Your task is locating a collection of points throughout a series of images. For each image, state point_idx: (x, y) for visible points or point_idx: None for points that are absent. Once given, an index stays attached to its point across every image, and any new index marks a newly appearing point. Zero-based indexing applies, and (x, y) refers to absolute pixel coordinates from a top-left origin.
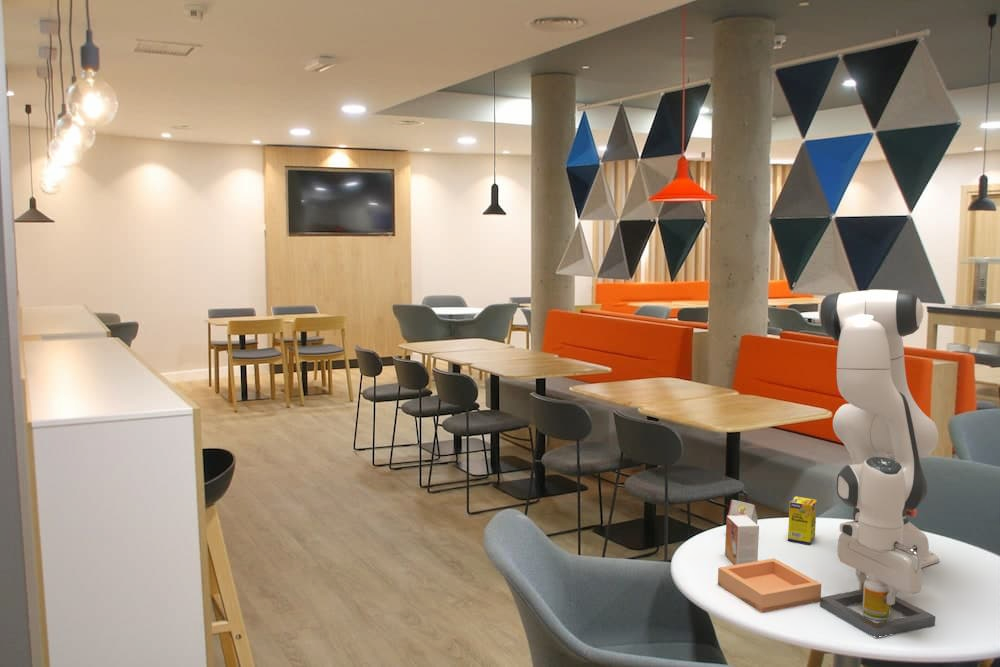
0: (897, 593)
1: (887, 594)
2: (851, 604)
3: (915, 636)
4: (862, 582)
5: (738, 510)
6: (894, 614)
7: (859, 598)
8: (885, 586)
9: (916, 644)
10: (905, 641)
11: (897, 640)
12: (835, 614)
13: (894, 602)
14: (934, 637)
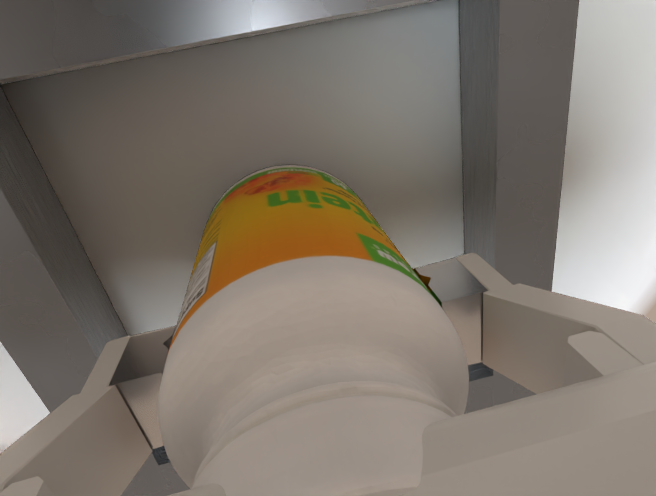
0: (572, 304)
1: (507, 377)
2: (114, 313)
3: (578, 167)
4: (140, 448)
5: None
6: (291, 103)
7: (71, 272)
8: (458, 402)
9: (635, 218)
10: (589, 253)
11: (564, 284)
12: None
13: (476, 258)
14: (641, 53)
